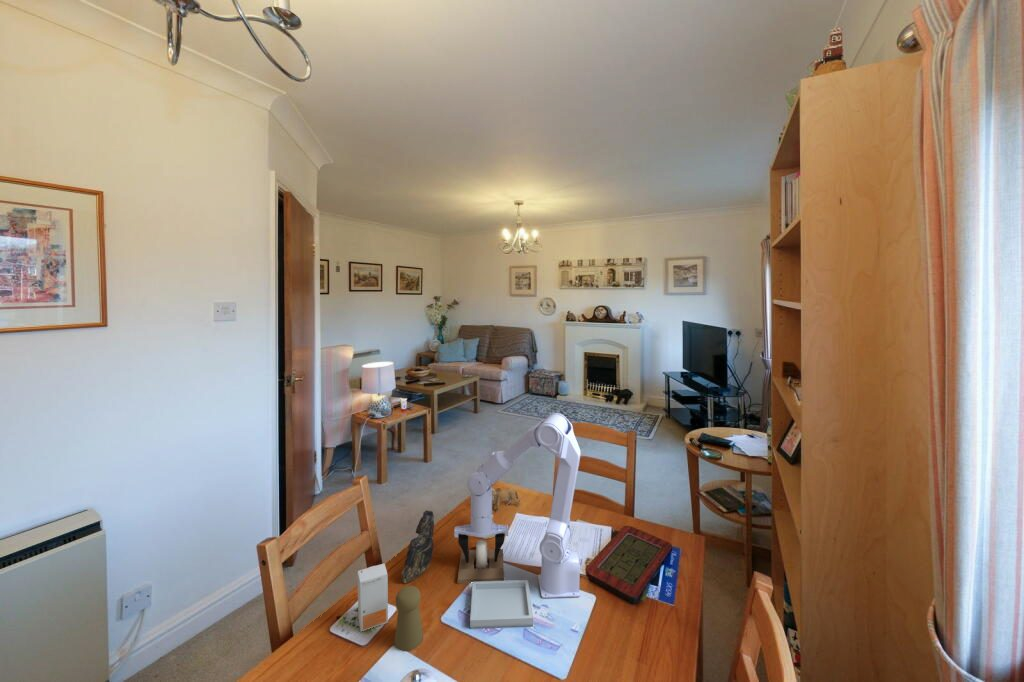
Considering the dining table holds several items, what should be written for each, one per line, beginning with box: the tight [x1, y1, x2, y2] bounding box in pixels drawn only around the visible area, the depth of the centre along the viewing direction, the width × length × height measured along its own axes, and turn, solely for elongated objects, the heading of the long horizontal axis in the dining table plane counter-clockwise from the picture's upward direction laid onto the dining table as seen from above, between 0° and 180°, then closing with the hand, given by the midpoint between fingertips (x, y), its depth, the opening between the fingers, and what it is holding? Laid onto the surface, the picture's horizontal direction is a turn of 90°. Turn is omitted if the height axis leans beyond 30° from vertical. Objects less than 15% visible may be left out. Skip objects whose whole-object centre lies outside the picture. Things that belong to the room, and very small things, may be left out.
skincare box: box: [356, 563, 389, 633], centre depth 87 cm, size 6×4×12 cm
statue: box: [401, 510, 435, 584], centre depth 104 cm, size 6×12×15 cm, turn 153°
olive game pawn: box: [394, 585, 424, 652], centre depth 83 cm, size 6×6×11 cm
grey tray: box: [469, 579, 534, 630], centre depth 92 cm, size 14×12×2 cm
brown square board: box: [457, 548, 505, 585], centre depth 106 cm, size 12×12×1 cm
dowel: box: [475, 539, 488, 569], centre depth 106 cm, size 3×3×7 cm
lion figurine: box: [492, 487, 521, 514], centre depth 137 cm, size 15×5×9 cm, turn 126°
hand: (481, 559), depth 106 cm, fingers open, 7 cm apart
